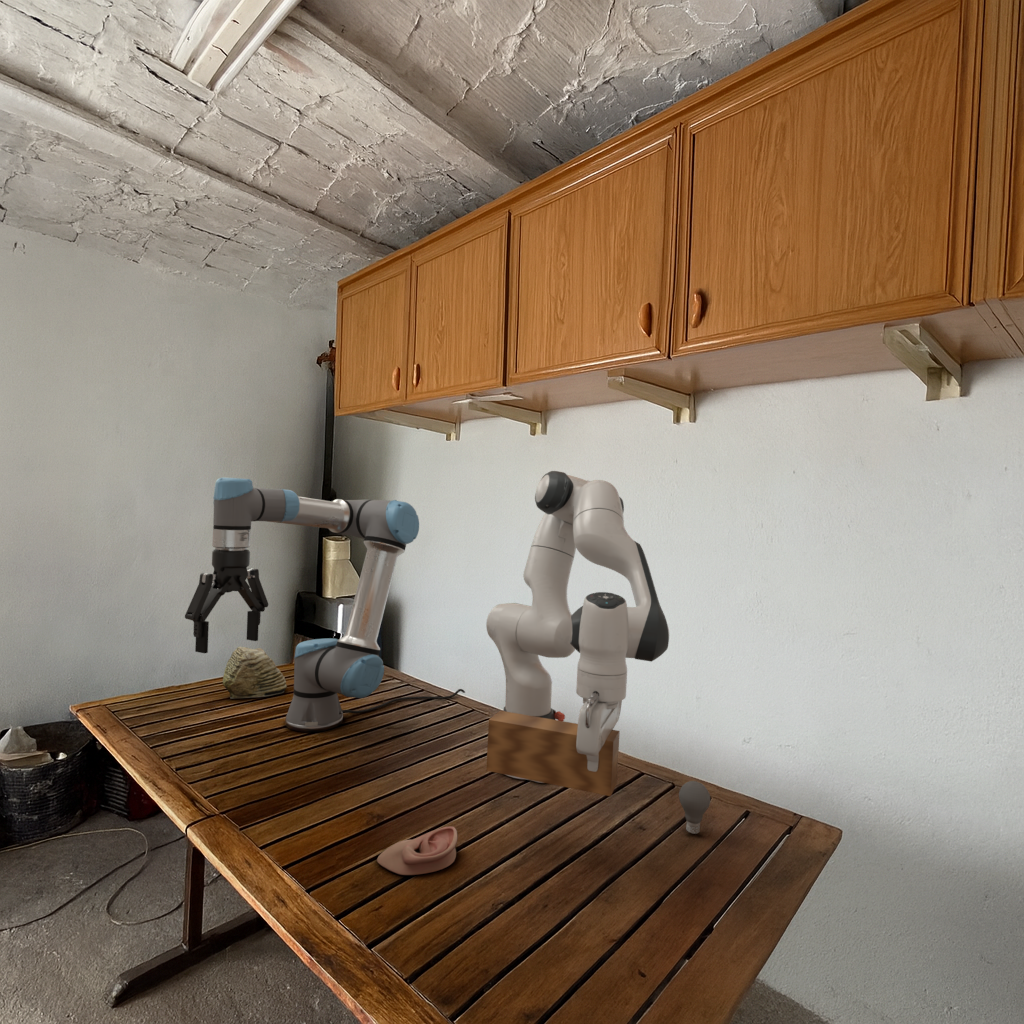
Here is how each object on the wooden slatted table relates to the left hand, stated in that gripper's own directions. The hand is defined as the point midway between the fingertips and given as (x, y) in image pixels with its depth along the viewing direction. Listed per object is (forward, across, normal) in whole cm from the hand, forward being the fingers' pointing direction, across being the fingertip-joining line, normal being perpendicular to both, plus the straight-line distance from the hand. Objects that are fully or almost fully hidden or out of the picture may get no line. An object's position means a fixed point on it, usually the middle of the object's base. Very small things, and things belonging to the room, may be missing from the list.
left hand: (227, 646), depth 138 cm
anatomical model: (+30, -5, -53) cm, 61 cm away
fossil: (+30, +48, +40) cm, 69 cm away
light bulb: (+30, +28, -96) cm, 105 cm away
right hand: (+12, +8, -81) cm, 83 cm away
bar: (+16, +8, -73) cm, 75 cm away
